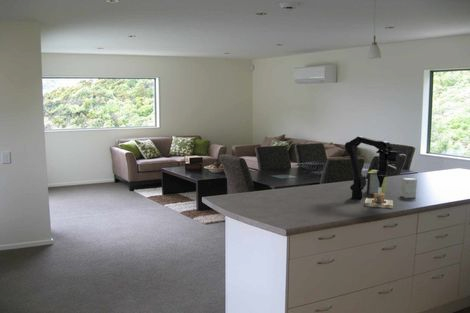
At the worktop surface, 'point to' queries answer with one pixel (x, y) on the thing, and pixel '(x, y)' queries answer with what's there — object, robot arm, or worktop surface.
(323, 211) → the worktop surface
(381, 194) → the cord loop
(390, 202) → the hook shelf
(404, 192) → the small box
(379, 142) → the robot arm
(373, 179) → the protein box
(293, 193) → the worktop surface
